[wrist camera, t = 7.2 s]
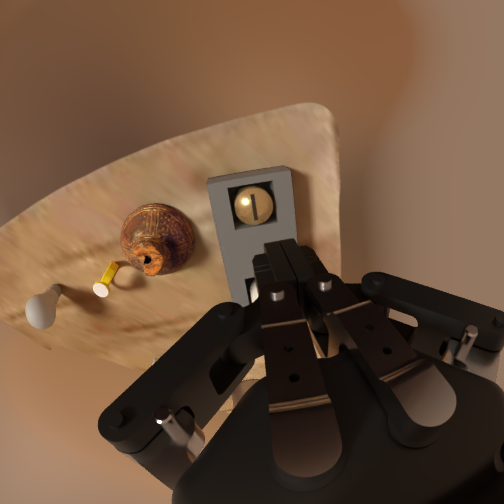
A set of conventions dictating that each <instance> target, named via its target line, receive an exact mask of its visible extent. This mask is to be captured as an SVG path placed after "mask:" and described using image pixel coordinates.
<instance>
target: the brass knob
mask: <svg viewBox="0 0 504 504" xmlns="http://www.w3.org/2000/svg"><path fill="white" fill-rule="evenodd" d="M233 200H234V207H235V212H236V215H237V216H238V218H239V219H240V220H241V221H242V222H244V223H246V224H249V225H258V224H261V223H263V222H265V221H266V220H267V219H268V218H269V217H270V215H271V213H272V210H273V202H272V199H271V197H270V196H269V194H268V193H267V191H266V190H265V188H264V187H263V186H262V185H260V184H258V183H253V184H247V185H242V186H239V187H238V188H237V190H236V191H235V193H234V198H233Z"/></svg>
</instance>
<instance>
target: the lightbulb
mask: <svg viewBox="0 0 504 504" xmlns="http://www.w3.org/2000/svg"><path fill="white" fill-rule="evenodd" d="M61 293H62V290H61V288H60V286H58V285H57V284H53V285H52V286H51V287H50V288H49V289H47V290H46V291H45V292H44V293H42V294H38V295H35V296H33V297H31V298H30V299H29V300H28V302H27V304H26V317H27V319H28V321H29V323H30V324H31V325H32V326H33V327H35V328H37V329H47V328H49V327H50V326H51V325H52V324H53V323H54V320H55V317H56V304H57V302H58V299H59V297H60V295H61Z"/></svg>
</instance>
